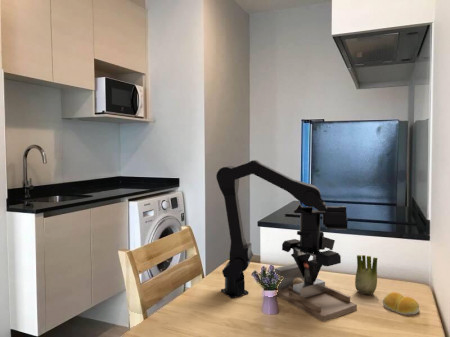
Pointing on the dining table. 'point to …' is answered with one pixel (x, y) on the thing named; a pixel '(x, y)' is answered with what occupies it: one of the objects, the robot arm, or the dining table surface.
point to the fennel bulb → (366, 275)
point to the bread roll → (401, 304)
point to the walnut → (297, 281)
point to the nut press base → (313, 297)
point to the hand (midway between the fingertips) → (309, 280)
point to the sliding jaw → (308, 284)
